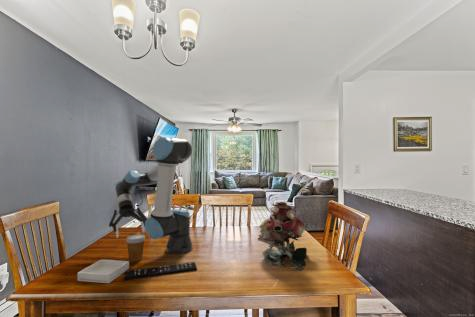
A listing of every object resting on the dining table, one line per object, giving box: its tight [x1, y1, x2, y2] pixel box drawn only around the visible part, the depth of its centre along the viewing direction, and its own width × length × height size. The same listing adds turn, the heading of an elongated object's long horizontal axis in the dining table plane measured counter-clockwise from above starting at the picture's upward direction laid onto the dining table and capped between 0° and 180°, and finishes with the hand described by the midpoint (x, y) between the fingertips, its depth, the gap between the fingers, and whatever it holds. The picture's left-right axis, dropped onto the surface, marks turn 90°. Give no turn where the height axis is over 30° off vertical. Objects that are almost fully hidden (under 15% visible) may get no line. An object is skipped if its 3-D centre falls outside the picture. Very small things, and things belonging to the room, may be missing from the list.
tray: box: [77, 259, 130, 284], centre depth 114 cm, size 15×15×4 cm
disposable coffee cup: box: [125, 233, 146, 263], centre depth 131 cm, size 10×10×12 cm
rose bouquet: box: [257, 201, 308, 272], centre depth 133 cm, size 26×29×30 cm
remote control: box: [123, 261, 198, 281], centre depth 117 cm, size 8×32×2 cm, turn 108°
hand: (131, 234), depth 137 cm, fingers open, 13 cm apart
